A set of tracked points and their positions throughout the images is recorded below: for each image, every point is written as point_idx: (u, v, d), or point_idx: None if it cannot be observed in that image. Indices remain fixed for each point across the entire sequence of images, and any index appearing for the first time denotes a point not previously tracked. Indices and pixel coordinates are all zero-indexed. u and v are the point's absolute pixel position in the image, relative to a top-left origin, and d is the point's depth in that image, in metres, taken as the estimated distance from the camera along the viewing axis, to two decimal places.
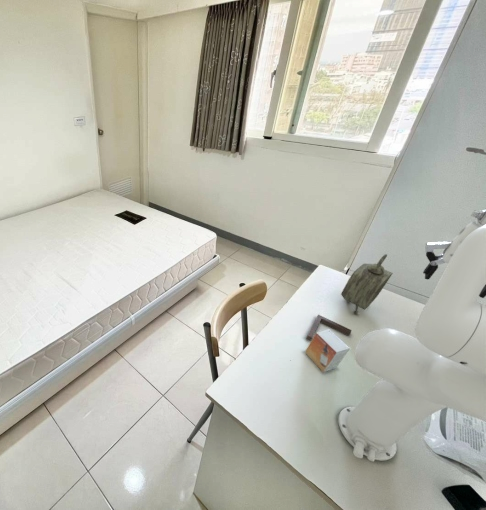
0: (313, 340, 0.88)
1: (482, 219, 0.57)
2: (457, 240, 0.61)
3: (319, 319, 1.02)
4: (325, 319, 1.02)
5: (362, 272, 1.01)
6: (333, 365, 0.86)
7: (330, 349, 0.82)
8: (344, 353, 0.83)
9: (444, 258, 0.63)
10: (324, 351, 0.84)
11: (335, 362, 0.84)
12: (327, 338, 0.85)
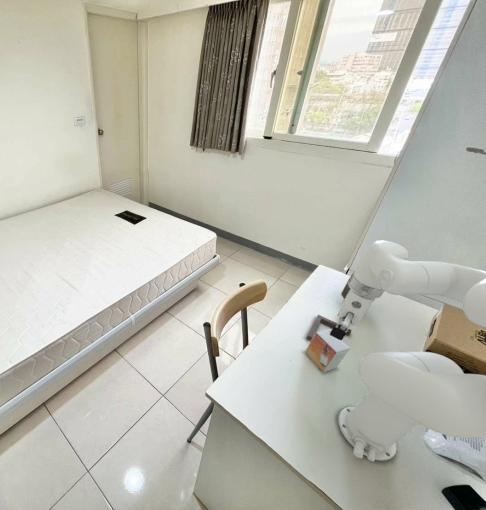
0: (313, 340, 0.88)
1: (370, 294, 0.69)
2: (362, 312, 0.71)
3: (319, 319, 1.02)
4: (325, 319, 1.02)
5: None
6: (333, 365, 0.86)
7: (330, 349, 0.82)
8: (344, 353, 0.83)
9: (356, 325, 0.73)
10: (324, 351, 0.84)
11: (335, 362, 0.84)
12: (327, 338, 0.85)
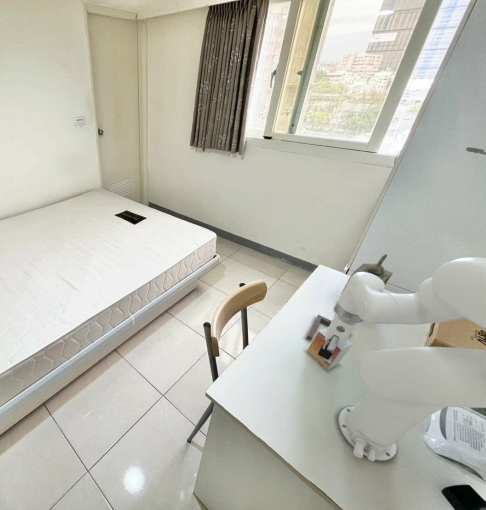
0: (315, 339, 0.88)
1: (352, 319, 0.76)
2: (346, 336, 0.78)
3: (319, 319, 1.02)
4: (325, 319, 1.02)
5: None
6: (336, 362, 0.87)
7: None
8: (347, 350, 0.84)
9: (341, 347, 0.80)
10: None
11: (338, 359, 0.85)
12: None
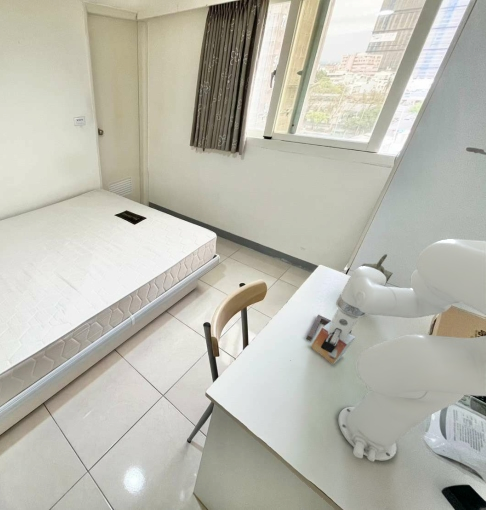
0: (319, 335, 0.90)
1: (355, 313, 0.78)
2: (348, 329, 0.80)
3: (319, 319, 1.02)
4: (325, 319, 1.02)
5: None
6: (340, 356, 0.89)
7: (340, 342, 0.84)
8: (350, 343, 0.86)
9: (343, 340, 0.82)
10: None
11: (343, 353, 0.87)
12: None
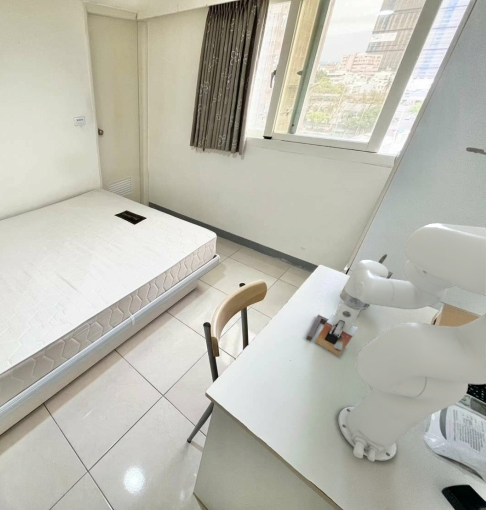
0: (324, 329, 0.92)
1: (358, 305, 0.81)
2: (351, 320, 0.83)
3: (319, 319, 1.02)
4: (325, 319, 1.02)
5: None
6: None
7: (345, 334, 0.87)
8: None
9: (347, 331, 0.85)
10: None
11: None
12: (337, 324, 0.89)
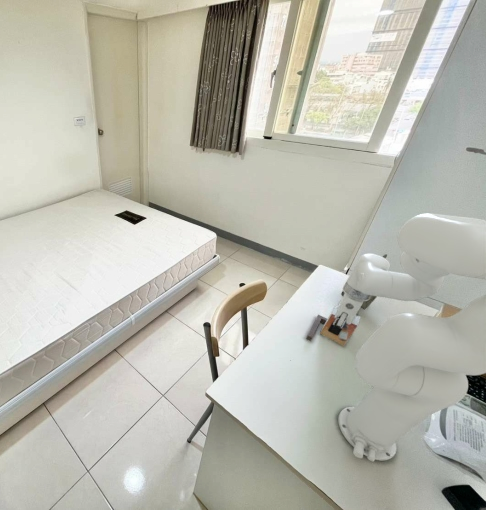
0: (329, 321, 0.95)
1: (360, 297, 0.84)
2: (354, 312, 0.86)
3: (319, 319, 1.02)
4: (325, 319, 1.02)
5: None
6: None
7: (350, 324, 0.90)
8: None
9: (349, 323, 0.88)
10: (343, 328, 0.92)
11: None
12: None
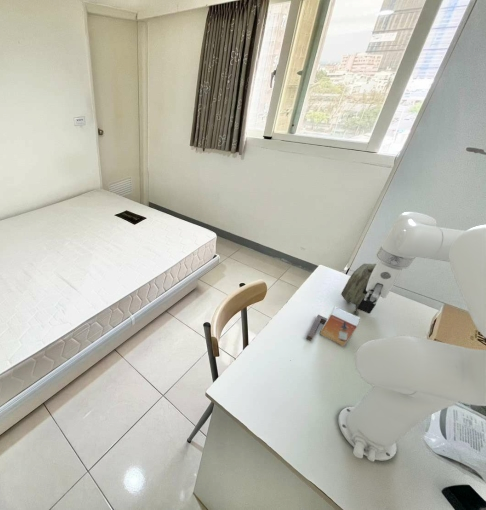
0: (328, 321, 0.95)
1: (399, 263, 0.71)
2: (391, 283, 0.73)
3: (319, 319, 1.02)
4: (325, 319, 1.02)
5: (362, 272, 1.01)
6: None
7: (350, 325, 0.90)
8: None
9: (385, 296, 0.76)
10: (343, 328, 0.92)
11: None
12: (341, 316, 0.92)
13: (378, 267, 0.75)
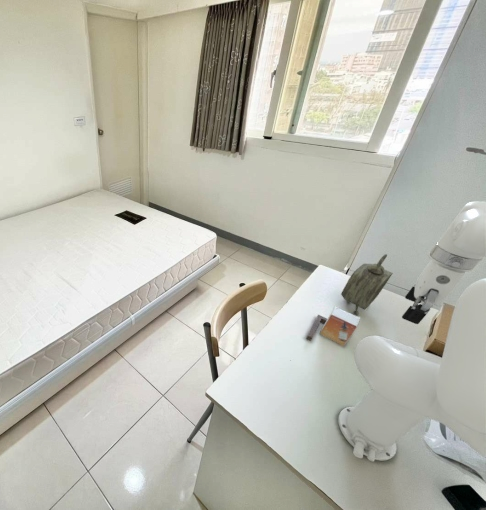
0: (328, 321, 0.95)
1: (462, 265, 0.58)
2: (450, 289, 0.60)
3: (319, 319, 1.02)
4: (325, 319, 1.02)
5: (362, 272, 1.01)
6: None
7: (350, 325, 0.90)
8: None
9: (440, 305, 0.62)
10: (343, 328, 0.92)
11: None
12: (341, 316, 0.92)
13: (433, 269, 0.61)
